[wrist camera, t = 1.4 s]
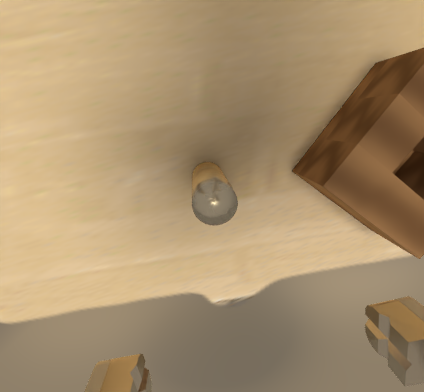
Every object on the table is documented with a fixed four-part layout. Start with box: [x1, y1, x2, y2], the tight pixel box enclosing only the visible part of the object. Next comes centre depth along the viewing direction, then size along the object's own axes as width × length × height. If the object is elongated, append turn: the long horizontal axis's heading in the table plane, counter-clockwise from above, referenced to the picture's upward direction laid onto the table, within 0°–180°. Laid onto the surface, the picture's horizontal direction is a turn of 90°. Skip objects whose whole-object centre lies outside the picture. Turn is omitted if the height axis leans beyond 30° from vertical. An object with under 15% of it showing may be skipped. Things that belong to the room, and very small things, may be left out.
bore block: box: [293, 48, 424, 259], centre depth 29 cm, size 16×16×8 cm
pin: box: [192, 162, 238, 225], centre depth 26 cm, size 4×4×11 cm
